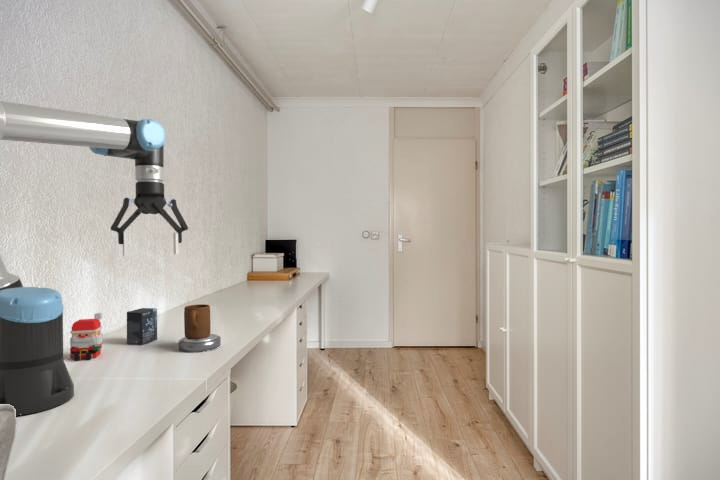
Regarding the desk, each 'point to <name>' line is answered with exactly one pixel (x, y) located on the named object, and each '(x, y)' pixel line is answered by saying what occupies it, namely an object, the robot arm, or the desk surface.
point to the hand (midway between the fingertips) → (151, 255)
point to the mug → (197, 321)
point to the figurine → (86, 338)
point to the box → (141, 326)
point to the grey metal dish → (199, 344)
